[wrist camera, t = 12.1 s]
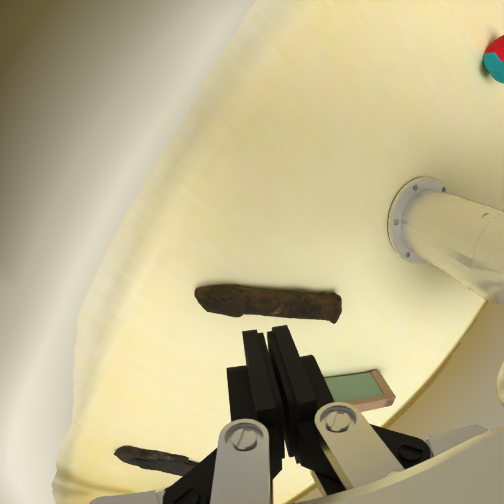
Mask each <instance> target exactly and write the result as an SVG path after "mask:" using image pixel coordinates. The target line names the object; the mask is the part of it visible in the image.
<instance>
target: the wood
mask: <svg viewBox="0 0 504 504" xmlns="http://www.w3.org/2000/svg"><path fill="white" fill-rule="evenodd" d="M114 455H115V456H117V457H118V458H119V459H120V460H122V461H123V462H125V463H128V464H131V465H135V466H139V467H140V468H143V469H150V470H158V471H162V472H166V473H170V474H174V475H179V476H184V475H185V474H187V473H188V472H189V471H190V470H192V469H193V468H194V467H195V466H196V465H198V464H199V463H196V462H190V461H188V460H189V458H188V457H185V456H181V455H176V454H170V453H166V452H160V451H156V450H145V449H140V448H136V447H132V446H123V447H120V448H118V450H116V452H115V453H114Z"/></svg>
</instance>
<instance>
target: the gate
mask: <svg viewBox="0 0 504 504" xmlns="http://www.w3.org/2000/svg"><path fill="white" fill-rule="evenodd" d="M324 379H325V381H326V383H327V386H328V388H329V390H330V392H331V394H332V396H333V399H334V401H335V402H344V403H349V404H351V405H353V406H355V407H356V408H357V409H358V410H359V411H360V412H363V411H368V410H373V409H378V408H382V407H387V406H391V405H392V404H393V402H394V400H395V397H396V396H395V395H394V393H393V392H392V390H391V389H390V387H389V386H388V384H387V383H386V381H385V380H384V378H383V377H382V375H381V374H380V372H379V371H378V370H376V371H370V372H368V373H362V374H355V375H347V376H339V377H331V378H324Z"/></svg>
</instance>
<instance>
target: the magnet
mask: <svg viewBox="0 0 504 504" xmlns="http://www.w3.org/2000/svg"><path fill="white" fill-rule="evenodd" d="M483 61H484V65H485V67H486V68H487V70H488V71H489V72H490V74H491V75H492V77H493V78H494V79H495V80H496V81H498V82H500V83H504V35H503V36H501V37H499V38H498V39H496V40H495V41H494V42H493V43H492V44H491V45H490V46H489V47H488V49H487V50H486V52H485V54H484V58H483Z"/></svg>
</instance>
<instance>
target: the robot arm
mask: <svg viewBox="0 0 504 504" xmlns="http://www.w3.org/2000/svg"><path fill="white" fill-rule="evenodd" d="M388 233H389V238H390V241H391V244H392V246H393V248H394V250H395V251H396V252H397V253H398V254H399V255H400V256H401V257H402V258H403V259H405V260H407V261H409V262H411V263H425V262H430V263H431V264H433V265H434V266H436V267H438V268H439V269H441V270H442V271H444V272H445V273H447V274H448V275H450V276H451V277H453V278H454V279H456V280H457V281H459V282H460V283H462V284H463V285H465V286H466V287H468V288H469V289H471V290H472V291H473V292H475V293H476V294H478V295H479V296H481V297H482V298H484V299H485V300H487V301H489V302H491V303H495V304H504V212H502V211H499V210H496V209H493V208H491V207H488V206H485V205H482V204H479V203H476V202H473V201H469V200H466V199H463V198H460V197H457V196H453V195H452V194H451V192H450V190H449V189H448V188H447V186H445V185H444V184H443V183H442V182H440V181H439V180H437V179H433V178H428V177H422V178H417V179H414V180H412V181H410V182H409V183H408V184H406V185H405V186H404V187H403V188H402V189H401V190H400V191H399V193H398V194H397V196H396V197H395V199H394V202H393V204H392V206H391V209H390V213H389V219H388ZM242 334H243V342H244V350H245V357H246V366H238V367H230V368H227V380H228V391H229V402H230V413H231V422H230V423H229V424H227V425H226V426H225V427H224V428H223V429H222V430H221V432H220V435H219V441H218V447H217V448H216V449H215V450H214V451H213V452H212V453H211V454H209V455H208V456H207V457H206V458H205V459H204V460H202V461H201V462H200V463H199V464H198V465H196V466H195V467H194V468H193V469H192V470H190V471H189V472H188V473H187V474H185V475H184V476H183V477H182V478H180V479H179V480H178V481H177V482H175V483H174V484H173V485H171V486H170V487H169V488H168V489H167V490H166V491H163V492H156V491H155V490H154V491H148V492H141V493H134V494H125V495H116V496H104V497H99V498H96V499H94V500H93V501H91V502H90V504H273V479H274V478H275V477H276V475H277V474H278V473H279V472H280V471H281V470H282V459H283V458H285V447H284V440H285V443H286V447H287V451H288V455H289V457H294V456H295V459H296V463H297V464H298V463H300V464H301V466H303V467H305V468H308V469H310V472H311V475H312V477H313V479H314V481H315V483H316V484H317V486H318V488H319V490H320V492H321V494H322V496H323V497H321V498H316V499H312V500H308V501H303V502H298V503H293V504H504V427H500V428H496V429H492V430H489V431H487V429H485V428H484V427H482V426H479V425H471V426H468V427H464V428H461V429H457V430H453V431H449V432H445V433H441V434H437V435H433V436H428V438H427V439H426V440H421V439H419V438H416V437H413V436H409V435H405V434H402V433H398V432H395V431H391V430H388V429H385V428H381V427H378V426H375V425H372V424H369V423H368V422H367V420H366V419H365V418H364V416H363V415H362V414H361V413H360V411H359V410H358V409H357V408H356V407H355V406H353V405H351V404H349V403H344V402H335V401H334V399H333V396H332V394H331V392H330V390H329V388H328V386H327V383H326V381H325V379H324V377H323V375H322V373H321V371H320V368H319V366H318V364H317V362H316V360H315V358H314V356H313V355H308V356H302V357H300V356H299V354H298V351H297V349H296V346H295V344H294V341H293V339H292V336H291V334H290V331H289V329H288V327H287V325H284V326H277V327H272V331H269V332H267V340H268V349H267V346H266V342H265V338H264V335H263V333H257V330H249V331H242ZM496 392H497V396H498V399H499V401H500V403H501V404H502V405H503V407H504V361H503V364H502V366H501V368H500V371H499V373H498V377H497V382H496Z"/></svg>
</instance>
